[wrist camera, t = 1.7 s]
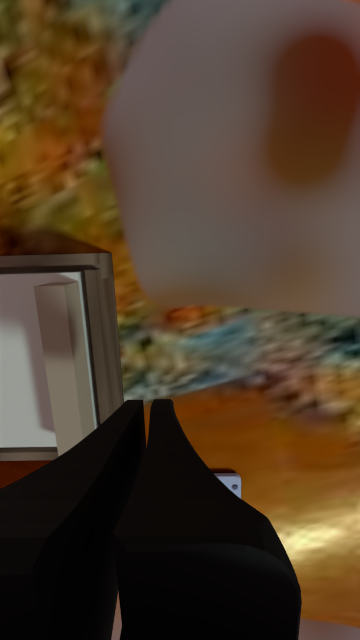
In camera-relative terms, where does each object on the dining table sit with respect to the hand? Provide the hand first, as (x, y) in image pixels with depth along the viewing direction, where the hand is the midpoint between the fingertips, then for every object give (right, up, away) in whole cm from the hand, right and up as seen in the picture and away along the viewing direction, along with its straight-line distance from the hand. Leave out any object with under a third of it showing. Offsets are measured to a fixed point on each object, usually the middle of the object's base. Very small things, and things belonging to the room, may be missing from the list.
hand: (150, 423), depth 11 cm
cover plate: (-12, +1, +7) cm, 14 cm away
